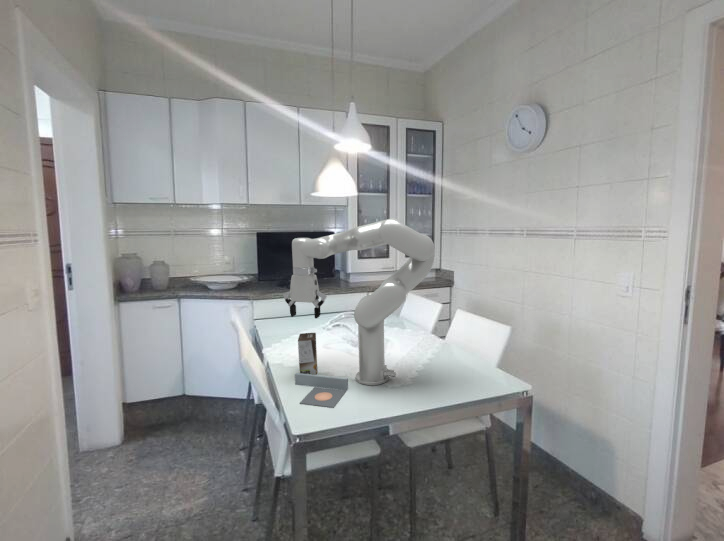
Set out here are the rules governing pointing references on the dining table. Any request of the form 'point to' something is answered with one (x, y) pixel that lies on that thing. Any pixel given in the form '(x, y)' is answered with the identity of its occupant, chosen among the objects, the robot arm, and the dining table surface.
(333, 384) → the grey flat bar
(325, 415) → the dining table surface
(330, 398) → the resting mat
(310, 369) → the coffee box
